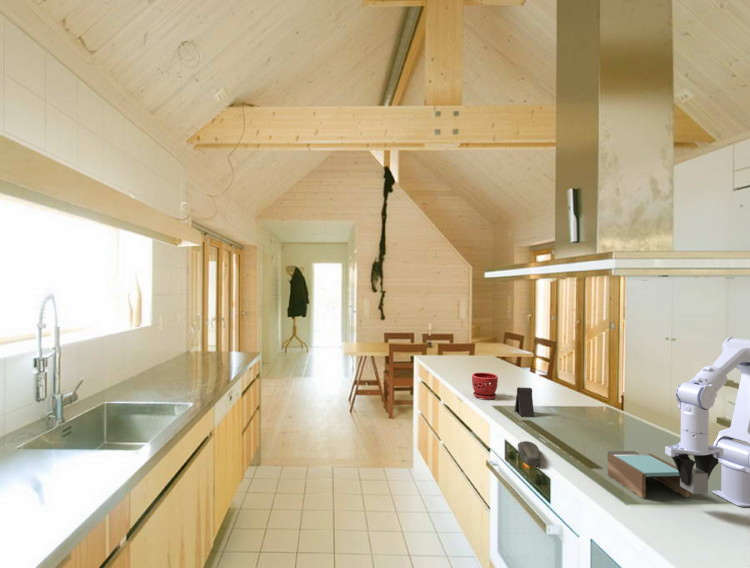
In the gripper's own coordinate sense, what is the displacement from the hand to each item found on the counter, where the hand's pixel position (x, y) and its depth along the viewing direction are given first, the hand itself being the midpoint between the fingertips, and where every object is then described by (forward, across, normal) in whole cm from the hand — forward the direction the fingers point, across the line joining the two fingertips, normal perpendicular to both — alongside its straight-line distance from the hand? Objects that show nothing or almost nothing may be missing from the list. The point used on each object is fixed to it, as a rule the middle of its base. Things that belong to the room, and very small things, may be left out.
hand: (693, 483), depth 105 cm
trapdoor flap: (+4, +2, -16) cm, 17 cm away
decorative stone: (+7, +27, -35) cm, 44 cm away
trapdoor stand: (+7, +2, -14) cm, 15 cm away
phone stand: (+7, +6, -83) cm, 84 cm away
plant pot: (+7, +14, -112) cm, 113 cm away
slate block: (+2, 0, 0) cm, 2 cm away
